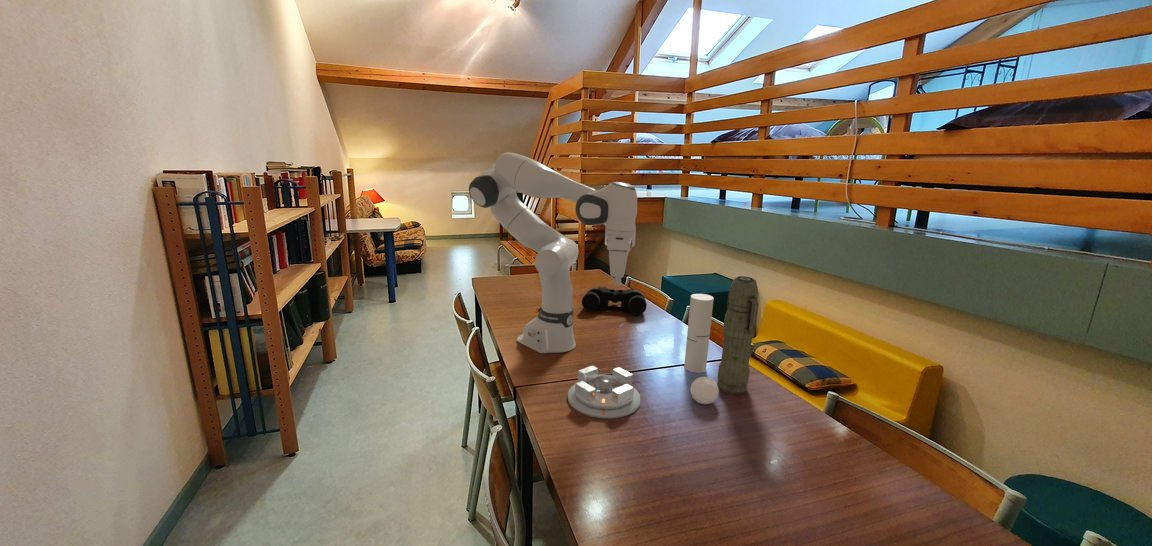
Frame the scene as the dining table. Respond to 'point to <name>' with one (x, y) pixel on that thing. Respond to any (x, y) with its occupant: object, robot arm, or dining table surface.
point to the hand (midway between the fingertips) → (617, 284)
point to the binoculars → (615, 299)
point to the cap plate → (603, 413)
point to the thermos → (738, 335)
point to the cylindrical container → (698, 332)
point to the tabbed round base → (604, 389)
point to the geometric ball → (704, 390)
